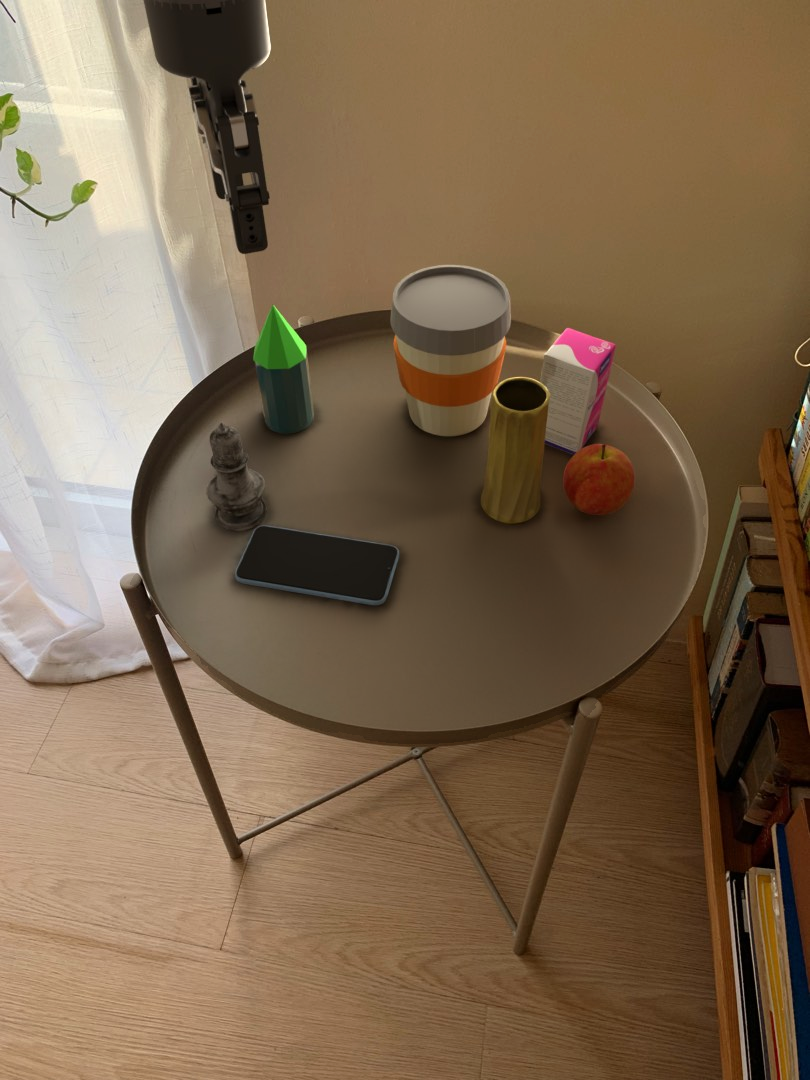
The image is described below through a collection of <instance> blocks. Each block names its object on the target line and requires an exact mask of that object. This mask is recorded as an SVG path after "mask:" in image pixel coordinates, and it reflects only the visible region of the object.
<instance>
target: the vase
mask: <svg viewBox="0 0 810 1080" xmlns="http://www.w3.org/2000/svg"><path fill="white" fill-rule="evenodd" d="M549 400H550V393H549V391H548V389H547V388H546V387H545V386H544V385H543V384H542V383H540V381H538V380H536V379H534V378H531V377H526V376H515V377H509V378H506V379H504V380H502V381H501V382H498V383H497V385H496V387H495V389H494V390H493V391H492V394H491V401H490V402H491V403H490V414H489V415H490V417H489V418H490V419H489V431H488V432H489V433H488V446H487V447H488V449H487V463H486V468H485V469H486V470H485V475H484V481H483V489H482V492H481V496H480V505H481V507H482V509H483V512H485V514H486V515H487V516H489V517H490V518H491V519H493V520H495V521H497V522H500V523H504V524H521V523H525V522H527V521H528V520H531V519H532V518H533V517H534V516H536V515H537V513H538V512H539V510H540V508H541V486H542V471H543V459H544V452H545V444H544V443H545V433H546V423H547V416H548V406H549Z"/></svg>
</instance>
